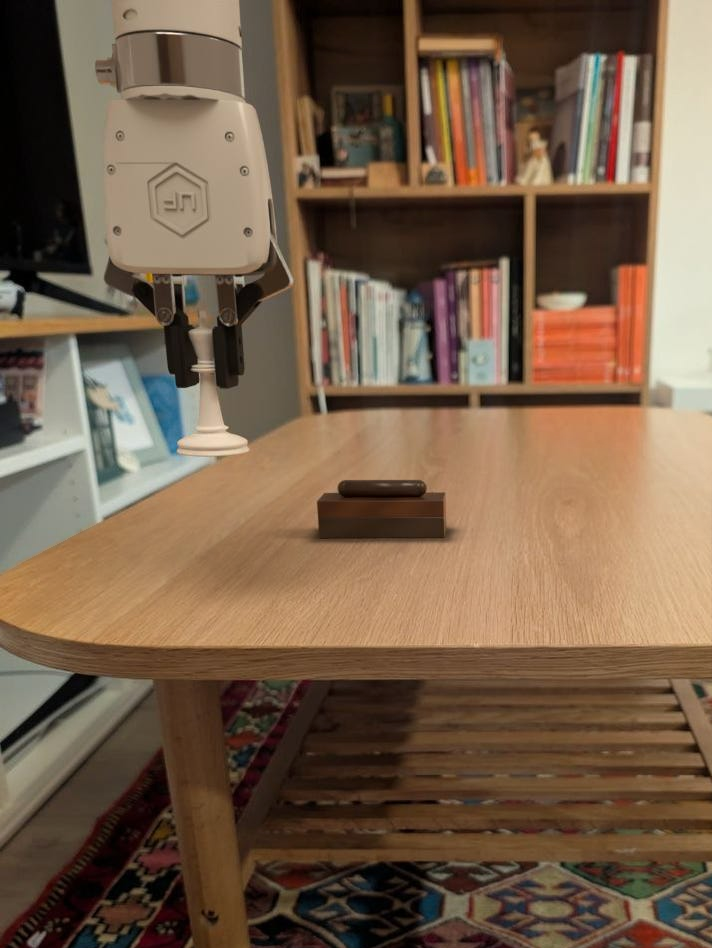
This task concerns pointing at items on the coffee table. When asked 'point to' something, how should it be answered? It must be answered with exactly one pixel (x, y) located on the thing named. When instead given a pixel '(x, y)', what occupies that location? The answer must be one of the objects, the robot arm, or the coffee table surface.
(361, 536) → the brush
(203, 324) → the chess piece
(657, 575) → the coffee table surface
